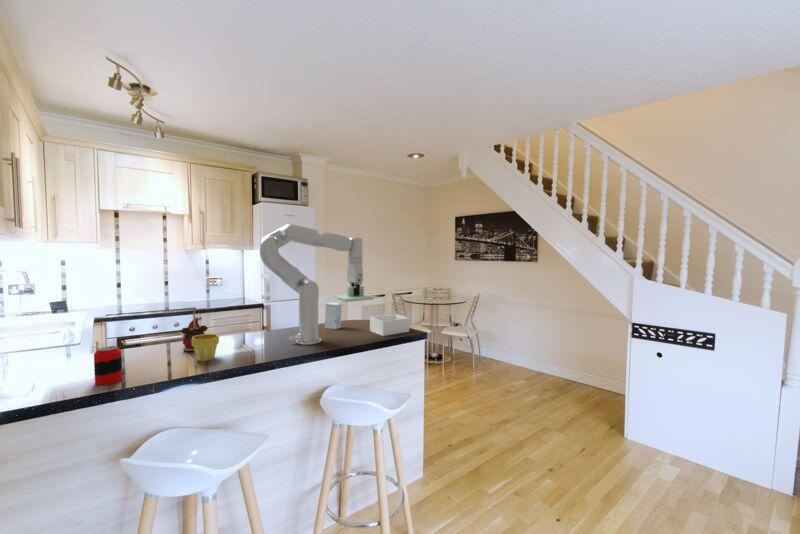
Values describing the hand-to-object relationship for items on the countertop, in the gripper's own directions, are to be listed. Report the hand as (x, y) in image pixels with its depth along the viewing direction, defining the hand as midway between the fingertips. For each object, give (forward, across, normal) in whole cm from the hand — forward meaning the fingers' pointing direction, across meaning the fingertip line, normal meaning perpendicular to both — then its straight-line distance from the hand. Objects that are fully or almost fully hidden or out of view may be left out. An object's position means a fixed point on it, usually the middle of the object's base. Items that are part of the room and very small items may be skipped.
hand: (355, 294), depth 193 cm
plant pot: (+23, -3, -71) cm, 75 cm away
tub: (+23, -1, +23) cm, 33 cm away
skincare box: (+23, -27, 0) cm, 36 cm away
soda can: (+23, +7, -103) cm, 106 cm away
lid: (+2, 0, 0) cm, 2 cm away
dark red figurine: (+23, -22, -73) cm, 80 cm away
